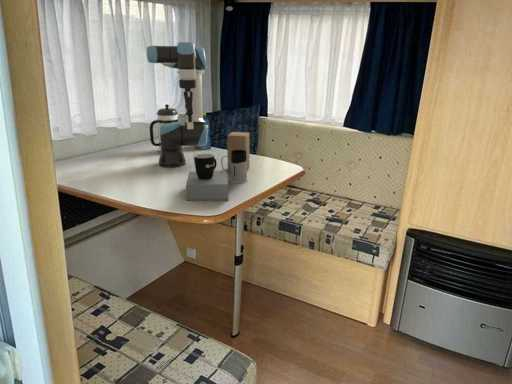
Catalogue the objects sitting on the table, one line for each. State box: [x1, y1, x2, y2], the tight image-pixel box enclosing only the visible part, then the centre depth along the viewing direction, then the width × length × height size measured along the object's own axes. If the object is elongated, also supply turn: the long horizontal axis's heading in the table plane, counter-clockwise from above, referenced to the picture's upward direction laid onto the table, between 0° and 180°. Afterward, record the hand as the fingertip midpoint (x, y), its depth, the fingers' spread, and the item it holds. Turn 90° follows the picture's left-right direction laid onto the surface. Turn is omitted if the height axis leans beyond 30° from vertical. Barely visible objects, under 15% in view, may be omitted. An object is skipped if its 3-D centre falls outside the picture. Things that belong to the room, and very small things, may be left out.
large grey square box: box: [185, 170, 229, 202], centre depth 190 cm, size 21×19×8 cm
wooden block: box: [226, 131, 251, 173], centre depth 224 cm, size 10×10×20 cm
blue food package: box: [194, 110, 212, 151], centre depth 272 cm, size 6×12×25 cm, turn 36°
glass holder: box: [220, 150, 249, 184], centre depth 206 cm, size 9×14×15 cm, turn 122°
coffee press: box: [149, 103, 179, 153], centre depth 259 cm, size 17×16×30 cm
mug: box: [193, 153, 217, 179], centre depth 188 cm, size 12×9×10 cm
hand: (189, 125), depth 193 cm, fingers open, 13 cm apart
